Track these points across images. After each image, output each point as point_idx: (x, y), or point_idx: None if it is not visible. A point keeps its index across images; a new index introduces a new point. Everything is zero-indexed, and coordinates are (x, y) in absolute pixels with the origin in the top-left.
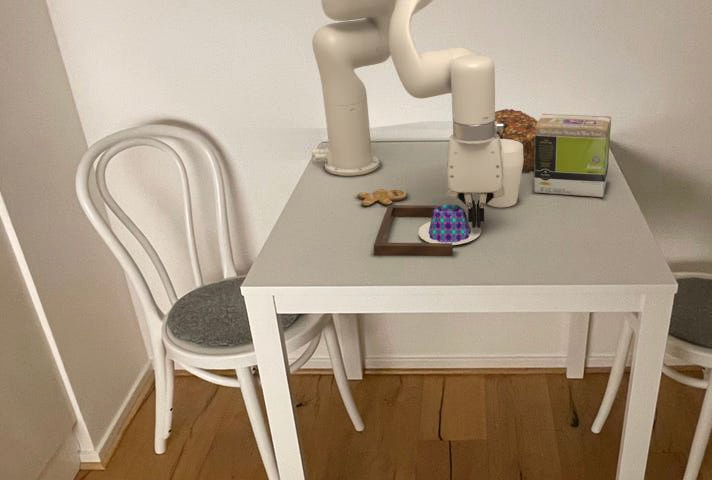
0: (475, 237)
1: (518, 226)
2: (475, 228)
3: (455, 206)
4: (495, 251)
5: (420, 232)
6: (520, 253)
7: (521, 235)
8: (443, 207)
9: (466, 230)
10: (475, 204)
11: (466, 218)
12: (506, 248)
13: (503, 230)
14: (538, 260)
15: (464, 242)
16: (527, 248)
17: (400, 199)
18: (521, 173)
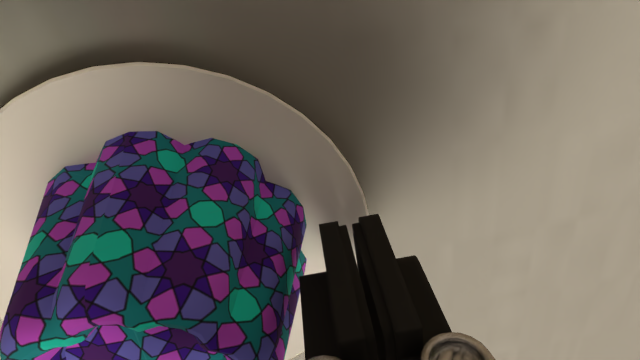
0: None
1: (606, 43)
2: (327, 178)
3: (168, 326)
4: None
5: (3, 298)
6: (556, 325)
7: (597, 166)
8: (58, 347)
9: (297, 302)
10: (374, 357)
11: (287, 302)
12: (500, 303)
13: (499, 123)
14: (616, 353)
15: (302, 338)
16: (596, 284)
17: None
18: None
